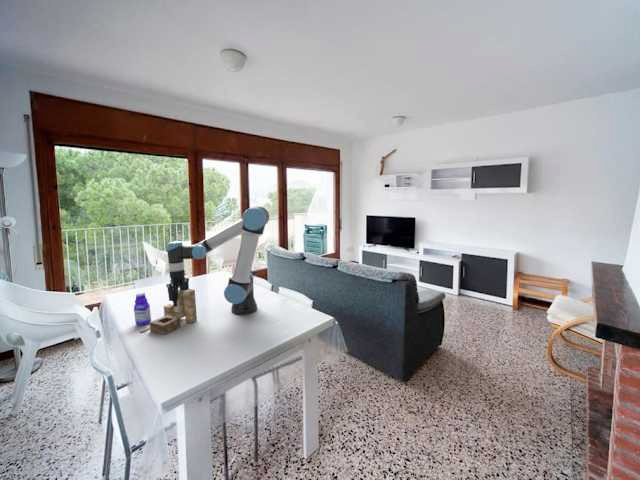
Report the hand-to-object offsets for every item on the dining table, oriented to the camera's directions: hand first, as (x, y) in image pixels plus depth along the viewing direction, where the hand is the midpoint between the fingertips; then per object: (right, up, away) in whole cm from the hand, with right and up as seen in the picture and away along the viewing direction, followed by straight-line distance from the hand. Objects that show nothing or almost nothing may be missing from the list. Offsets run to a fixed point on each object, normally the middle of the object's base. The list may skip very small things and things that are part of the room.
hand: (180, 310), depth 160 cm
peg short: (-8, -5, +4) cm, 10 cm away
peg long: (+7, -6, -2) cm, 9 cm away
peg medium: (0, -4, +1) cm, 4 cm away
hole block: (-2, -7, -11) cm, 14 cm away
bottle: (-18, -6, -4) cm, 20 cm away
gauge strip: (-10, -7, -8) cm, 15 cm away
